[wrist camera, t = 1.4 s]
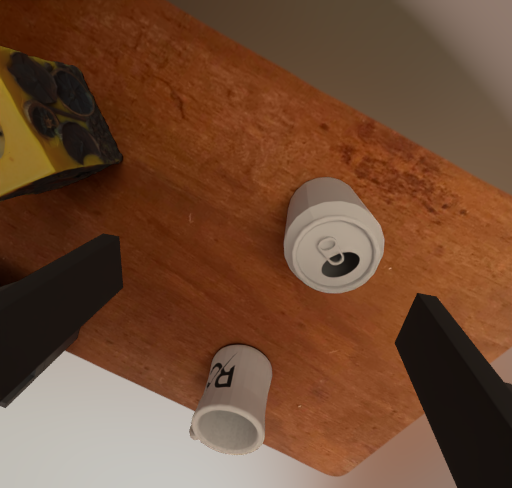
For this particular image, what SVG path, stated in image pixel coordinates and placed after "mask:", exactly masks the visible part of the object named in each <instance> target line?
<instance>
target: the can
mask: <svg viewBox="0 0 512 488" xmlns="http://www.w3.org/2000/svg"><path fill="white" fill-rule="evenodd" d="M383 251H384V236H383V233H382V229H381V226H380V224H379V223H378V222H377V221H376V219H375V218H374V217H373V215H372V214H371V213H370V211H369V210H368V209H367V208H366V206H365V205H364V204H363V203H362V201H361V200H360V199H359V197H358V196H357V195H356V194H355V192H354V191H353V190H352V189H351V187H350V186H349V185H347V184H346V183H344V182H343V181H341V180H339V179H335V178H330V177H323V178H316V179H313V180H310V181H308V182H306V183H304V184H303V185H302V186H301V187H300V188H298V189H297V190H296V192H295V193H294V195H293V196H292V198H291V200H290V204H289V207H288V214H287V222H286V230H285V237H284V254H285V259H286V261H287V263H288V266H289V268H290V270H291V271H292V272H293V273H294V274H295V275H296V276H297V277H298V278H299V279H300V280H302V281H303V282H304V283H305V284H306V285H308V286H310V287H311V288H313V289H315V290H318V291H321V292H325V293H343V292H347V291H350V290H354V289H356V288H357V287H359V286H361V285H363V284H364V283H366V282H367V281H368V280H369V278H370V277H371V276H372V275H373V274H374V273H375V271H376V269H377V267H378V264H379V262H380V260H381V258H382V256H383Z"/></svg>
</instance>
